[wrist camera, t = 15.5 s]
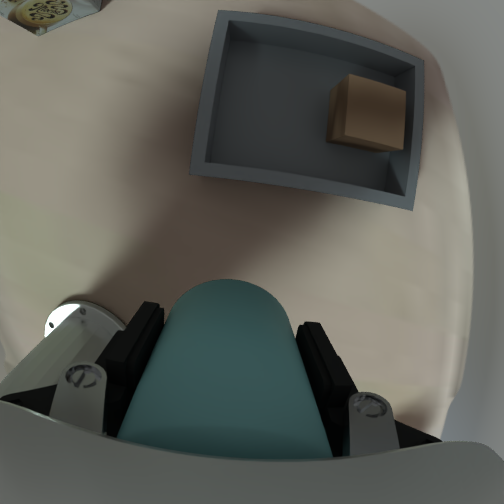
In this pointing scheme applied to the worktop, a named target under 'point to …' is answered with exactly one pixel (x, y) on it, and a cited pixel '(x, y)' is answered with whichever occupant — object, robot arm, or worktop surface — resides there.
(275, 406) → the teal cylinder
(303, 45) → the tote
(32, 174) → the worktop surface
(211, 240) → the worktop surface
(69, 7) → the coffee box
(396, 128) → the walnut cube
